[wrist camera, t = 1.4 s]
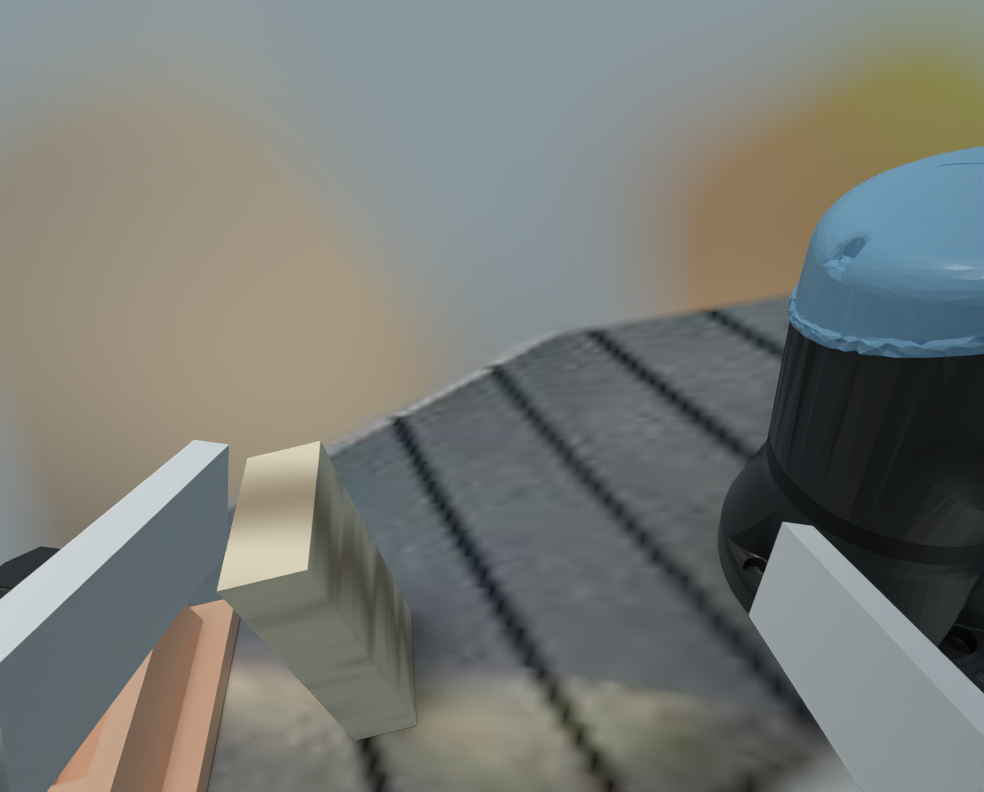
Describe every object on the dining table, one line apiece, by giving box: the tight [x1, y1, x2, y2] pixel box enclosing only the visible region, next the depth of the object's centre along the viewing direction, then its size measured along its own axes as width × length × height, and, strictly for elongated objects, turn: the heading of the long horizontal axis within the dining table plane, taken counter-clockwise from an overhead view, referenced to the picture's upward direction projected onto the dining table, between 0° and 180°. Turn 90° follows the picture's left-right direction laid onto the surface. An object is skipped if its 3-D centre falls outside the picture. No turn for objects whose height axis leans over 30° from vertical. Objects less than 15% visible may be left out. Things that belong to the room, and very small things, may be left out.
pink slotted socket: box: [47, 599, 240, 792], centre depth 33 cm, size 14×12×5 cm
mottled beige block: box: [217, 441, 417, 740], centre depth 30 cm, size 7×4×16 cm, turn 9°
